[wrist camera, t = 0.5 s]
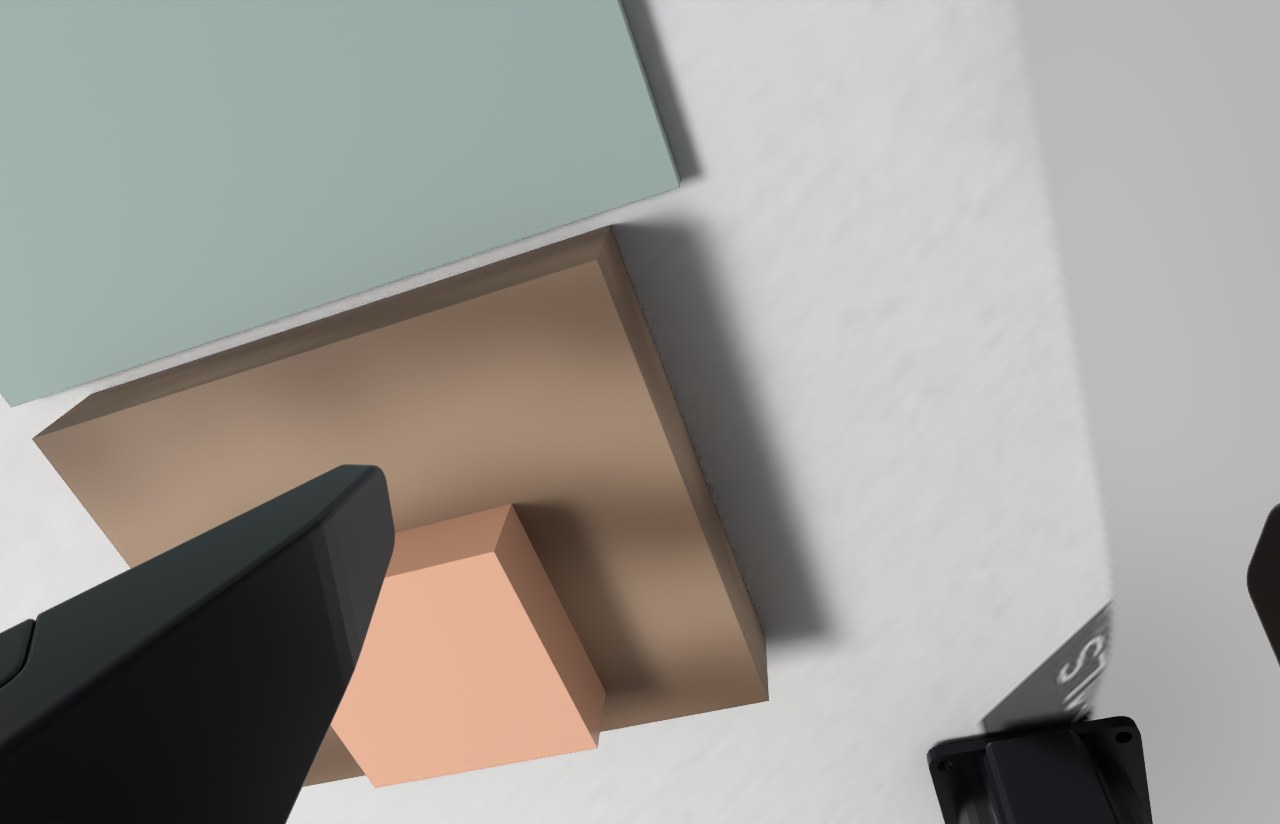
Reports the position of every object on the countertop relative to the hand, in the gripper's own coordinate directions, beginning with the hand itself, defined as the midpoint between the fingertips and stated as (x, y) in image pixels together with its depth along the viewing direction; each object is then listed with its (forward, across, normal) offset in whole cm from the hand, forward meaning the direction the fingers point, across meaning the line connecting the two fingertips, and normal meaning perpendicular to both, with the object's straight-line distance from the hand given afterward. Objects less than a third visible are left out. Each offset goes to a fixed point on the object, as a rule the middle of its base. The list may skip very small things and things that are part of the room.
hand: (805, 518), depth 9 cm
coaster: (+11, +8, +12) cm, 18 cm away
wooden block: (+14, +9, +10) cm, 19 cm away
